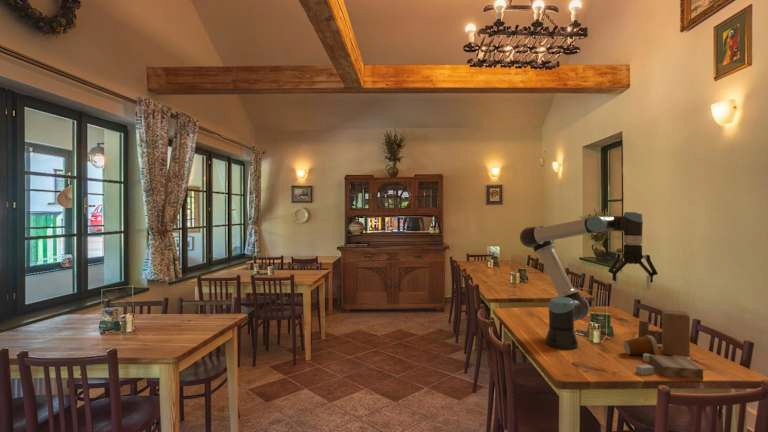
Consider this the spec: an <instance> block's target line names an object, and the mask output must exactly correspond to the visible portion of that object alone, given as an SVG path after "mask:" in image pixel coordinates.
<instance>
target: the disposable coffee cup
mask: <svg viewBox="0 0 768 432" xmlns="http://www.w3.org/2000/svg"><path fill="white" fill-rule="evenodd" d="M622 344H623V349H624V351H625V353H626V354H627V355H629V356H630V355H631V356H643V354H645V353H647V354H651V355H658V354H659V351H660V350H659V344H657V342H656V340H655V339H654V337H653V336H649V335H646V336H644V337H639V338H638V337H636V338H632V339H628V340H624V341H623V343H622Z"/></svg>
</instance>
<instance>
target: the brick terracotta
mask: <svg viewBox="0 0 768 432" xmlns="http://www.w3.org/2000/svg"><path fill="white" fill-rule="evenodd" d="M673 357H684V356H679V355H674V354H673ZM686 358H687V359H689V360H690V361H691V357H686Z"/></svg>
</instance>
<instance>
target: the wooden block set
mask: <svg viewBox="0 0 768 432" xmlns="http://www.w3.org/2000/svg"><path fill="white" fill-rule="evenodd" d="M649 327H650V322H649V321H648V320H643V319H639V321H638V333H637V335H638V337H637V338H639V337H644V336H646V335H649V336H653V337H654V339H655V340H656V342H657V345H662V330H653V329H649Z"/></svg>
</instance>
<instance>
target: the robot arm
mask: <svg viewBox="0 0 768 432" xmlns="http://www.w3.org/2000/svg"><path fill="white" fill-rule="evenodd" d="M643 222H644V221H643V213H642V212H641V211H640V212H639V211H624V213H623V215H594V216H591V217H588V218H582V219H581V218H580V219H576V220H572V221H567V222H563V223H557V224H553V225H548V226H541V225H540V226H528V227H525V228H524V229H522V230H521V232H520V235H519V240H520V243H521V244H522V245H523V246H524V247H526V248H529V249H531V248H532V249H533V251H534V253H535V254H536V255H538V256H539V258H540V259H541V262H542V263H543V266H544V267H545V270H546V273H547V274H548V276H549V278H550V280H551V282H552V284H553V288H555V291H556V293H557V297H552V298H551V299H550V300H549V301H548V303H549V304H548V324H549V325H548V331H547V333H546V336H545V344H546V345H547V347H551V348H554V349H560V350H574V349H578V348H579V341H578V338H577V336H576V333H575V321H579V320H582V319H584V318H585V317H587V316H588V314H589V312H590V309H591V308H590V304H589V302H588V300H587V298H585V297H584V296H581V294H580V291H578V290H576V289H575V288H574V287H573V284H572V282H571V280H570V279H569V276H568V275H567V273H566V270H565V268H564V267H563V264H562V262H561V260H560V258H559V256H558V254H557V252H556V249H555V246H556V244H555V241H554V240H561V239H566V238H572V237H578V236H583V235H590V234H596V233H601V232H623V252H622V253H623V254H620V253H616V254H615V258H614V260H613V261H612V263H611V265H610V267H608V270H607V272H608V273H610V274H612V281H613V282H614V288H615V289H619V275H618V273H619V272H620V271H621V270H622V269H623V268H624V267H625V266H626V265H627V264H629V265H632V264H634V265H637V264H638V265H639V266H640V267H641V268H642V269H643V271H644V272H645V273H646V274H647V275H646V290H648V291H651V286H652V285H651V284H652V283H653V282H654V279H653V278H654V276H656V275H658V271H657V270H656V267H655V266H654V264H653V263H652V260H651V256H650V254H645V255H644V254H643V245H642V244H643ZM620 259H623V260H622V261H621V263H619V261H620ZM642 260H645V261H646V263H647V265H648V266H649V268H650V269H649V268H648V267H647V266H646V265H645V264H644V262H643V261H642ZM618 263H619V265H617V264H618Z"/></svg>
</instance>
